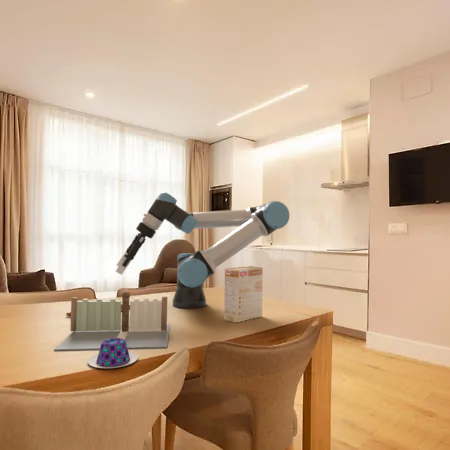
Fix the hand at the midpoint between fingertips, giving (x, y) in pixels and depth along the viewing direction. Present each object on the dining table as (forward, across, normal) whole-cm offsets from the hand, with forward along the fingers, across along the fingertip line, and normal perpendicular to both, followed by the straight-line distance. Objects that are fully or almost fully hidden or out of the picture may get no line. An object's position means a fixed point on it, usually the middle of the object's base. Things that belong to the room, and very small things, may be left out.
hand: (118, 269), depth 137 cm
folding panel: (+15, +29, +2) cm, 33 cm away
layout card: (+12, +35, +9) cm, 38 cm away
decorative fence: (+19, -1, +4) cm, 19 cm away
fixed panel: (+7, +31, +16) cm, 36 cm away
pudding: (+11, +55, +7) cm, 56 cm away
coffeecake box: (-12, +21, +48) cm, 54 cm away
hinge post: (+11, +30, +10) cm, 34 cm away
